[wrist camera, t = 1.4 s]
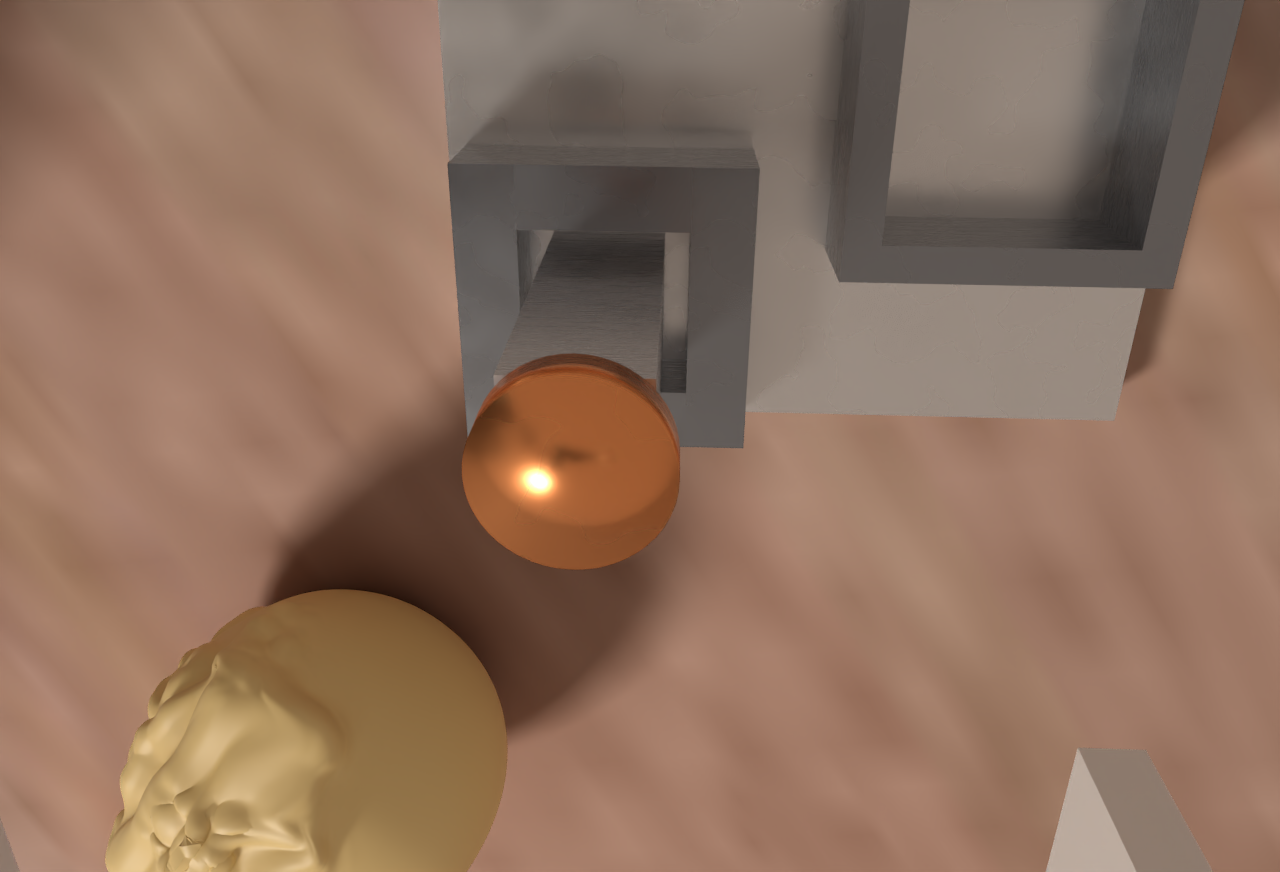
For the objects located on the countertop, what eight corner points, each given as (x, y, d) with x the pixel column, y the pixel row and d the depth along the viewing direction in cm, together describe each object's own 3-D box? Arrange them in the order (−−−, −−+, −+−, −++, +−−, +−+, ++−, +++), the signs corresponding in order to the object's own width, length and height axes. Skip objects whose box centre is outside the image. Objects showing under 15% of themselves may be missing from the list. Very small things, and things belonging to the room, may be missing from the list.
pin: (541, 350, 31) (469, 566, 21) (536, 213, 30) (454, 375, 19) (679, 353, 31) (676, 572, 21) (683, 215, 29) (682, 380, 19)
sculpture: (286, 484, 36) (138, 692, 26) (578, 647, 38) (542, 891, 29) (160, 694, 40) (-6, 938, 31) (430, 827, 43) (356, 1091, 33)
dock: (475, 385, 34) (447, 448, 30) (443, -98, 27) (401, -101, 23) (1096, 400, 33) (1153, 466, 29) (1207, -91, 27) (1300, -93, 23)
